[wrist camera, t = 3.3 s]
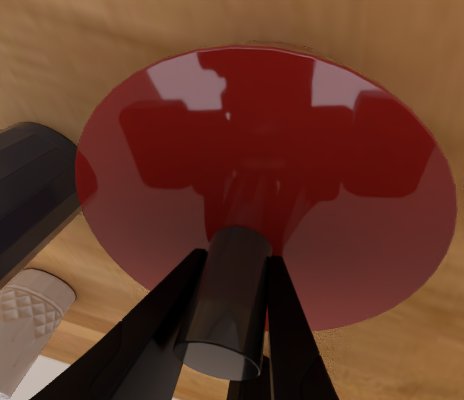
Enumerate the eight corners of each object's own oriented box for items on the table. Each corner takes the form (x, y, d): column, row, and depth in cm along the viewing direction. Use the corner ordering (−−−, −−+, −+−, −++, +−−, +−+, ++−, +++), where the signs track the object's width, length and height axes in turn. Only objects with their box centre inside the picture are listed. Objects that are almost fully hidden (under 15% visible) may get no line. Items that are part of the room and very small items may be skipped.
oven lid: (534, 229, 8) (772, 452, 4) (267, 334, 16) (258, 442, 12) (173, -119, 5) (-320, -624, 1) (68, 227, 13) (-30, 323, 9)
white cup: (8, 256, 27) (-105, 355, 20) (76, 279, 27) (-9, 386, 20) (27, 290, 32) (-57, 379, 25) (84, 310, 32) (19, 404, 25)
